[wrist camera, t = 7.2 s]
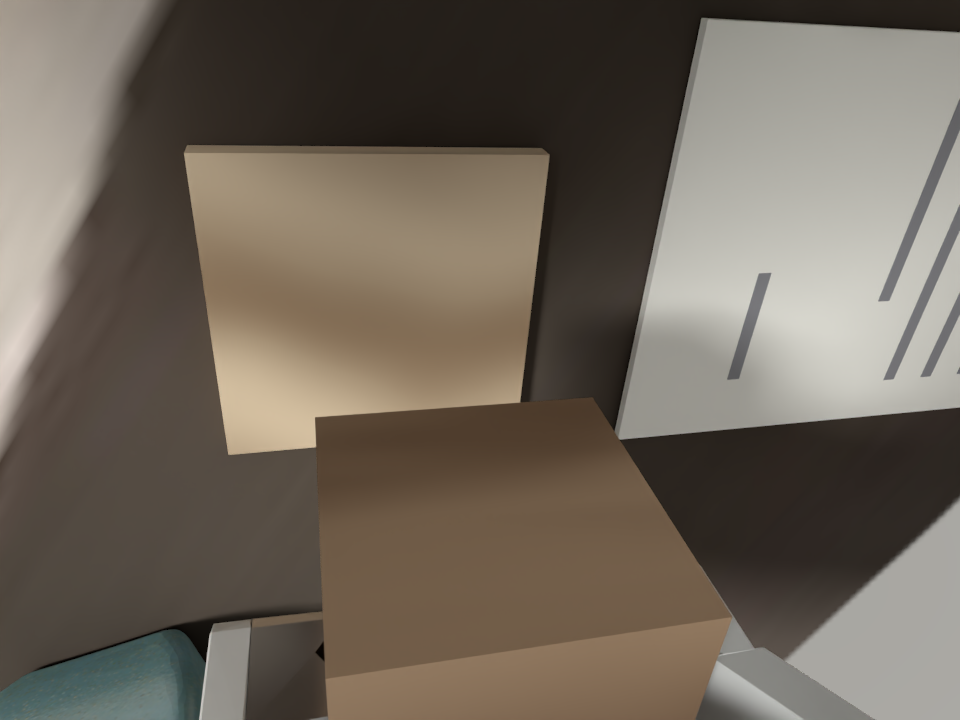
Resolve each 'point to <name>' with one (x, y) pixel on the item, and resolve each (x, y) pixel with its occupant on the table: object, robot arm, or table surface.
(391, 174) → the coaster
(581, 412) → the walnut block
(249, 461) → the table surface
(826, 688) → the robot arm
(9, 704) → the flower pot
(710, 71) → the letter
